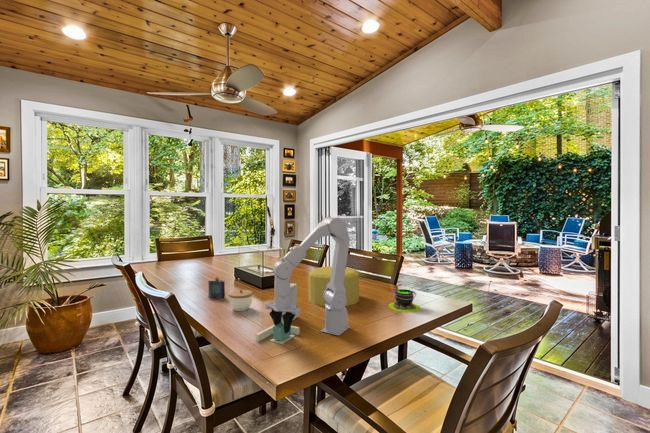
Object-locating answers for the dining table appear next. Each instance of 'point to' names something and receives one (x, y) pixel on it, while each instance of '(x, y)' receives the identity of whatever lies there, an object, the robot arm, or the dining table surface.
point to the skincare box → (292, 298)
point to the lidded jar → (240, 299)
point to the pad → (283, 339)
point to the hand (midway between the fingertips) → (282, 331)
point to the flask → (216, 288)
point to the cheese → (322, 278)
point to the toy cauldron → (404, 301)
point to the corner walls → (269, 332)
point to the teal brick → (280, 332)
